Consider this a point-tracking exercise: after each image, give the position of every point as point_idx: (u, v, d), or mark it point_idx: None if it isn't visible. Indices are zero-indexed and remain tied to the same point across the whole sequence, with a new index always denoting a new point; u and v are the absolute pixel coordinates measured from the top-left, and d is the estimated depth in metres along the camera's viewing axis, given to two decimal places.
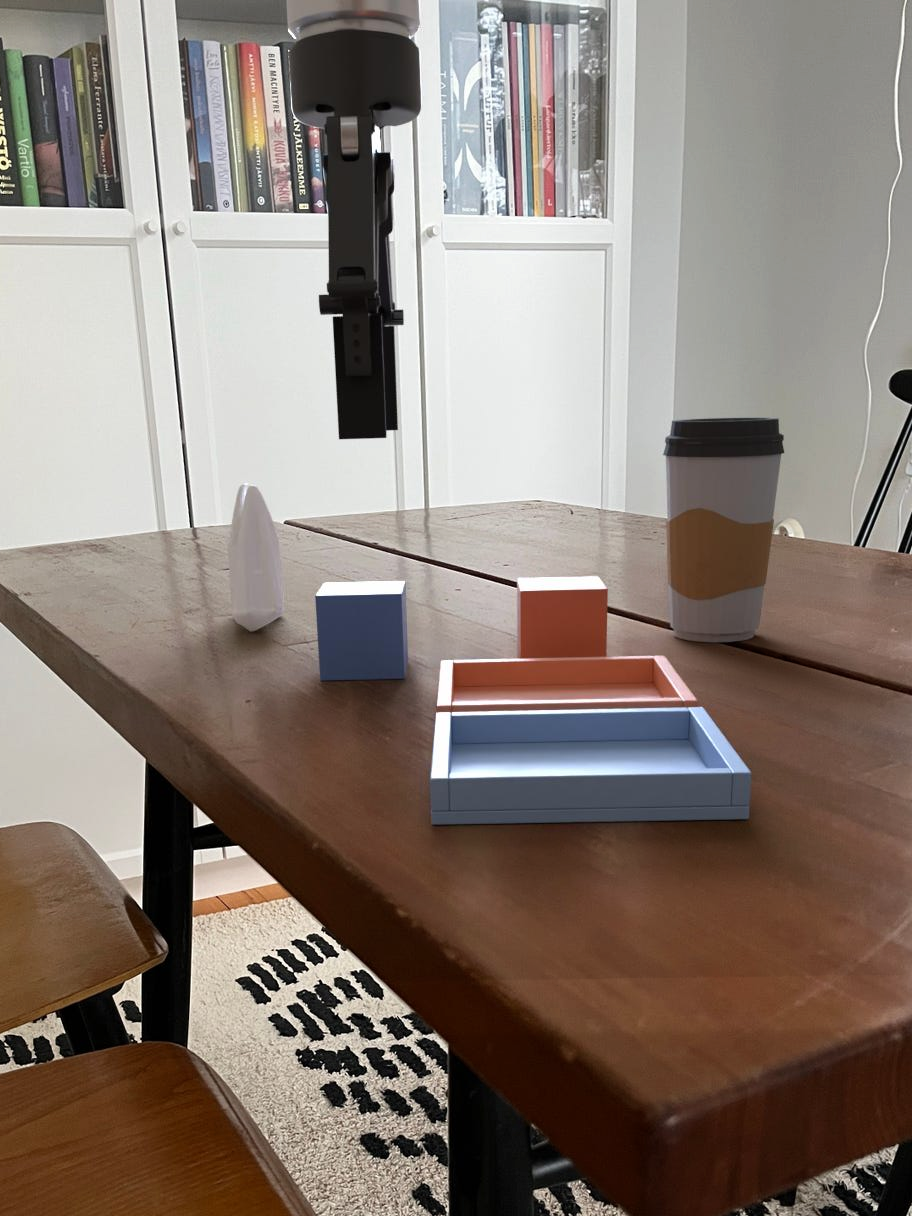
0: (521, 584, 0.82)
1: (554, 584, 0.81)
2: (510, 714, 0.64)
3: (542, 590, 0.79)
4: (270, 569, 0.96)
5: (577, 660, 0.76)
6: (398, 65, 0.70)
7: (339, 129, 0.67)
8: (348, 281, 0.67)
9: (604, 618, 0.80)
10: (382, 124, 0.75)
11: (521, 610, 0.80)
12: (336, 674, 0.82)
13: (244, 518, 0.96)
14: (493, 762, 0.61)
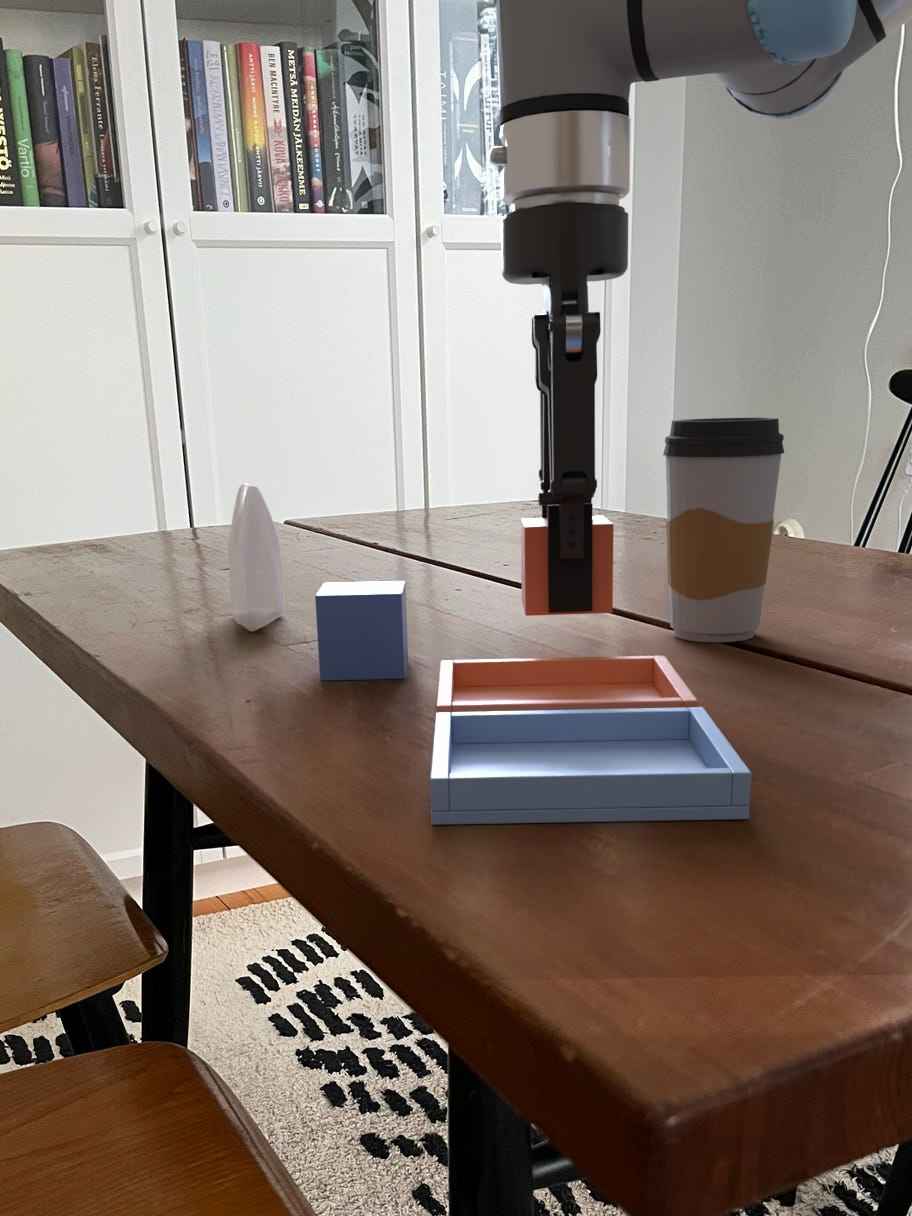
0: (525, 522, 0.80)
1: None
2: (510, 714, 0.64)
3: (546, 526, 0.78)
4: (270, 569, 0.96)
5: (577, 660, 0.76)
6: (613, 234, 0.72)
7: (564, 332, 0.71)
8: (571, 481, 0.74)
9: (610, 554, 0.78)
10: None
11: (525, 547, 0.78)
12: (336, 674, 0.82)
13: (244, 518, 0.96)
14: (493, 762, 0.61)
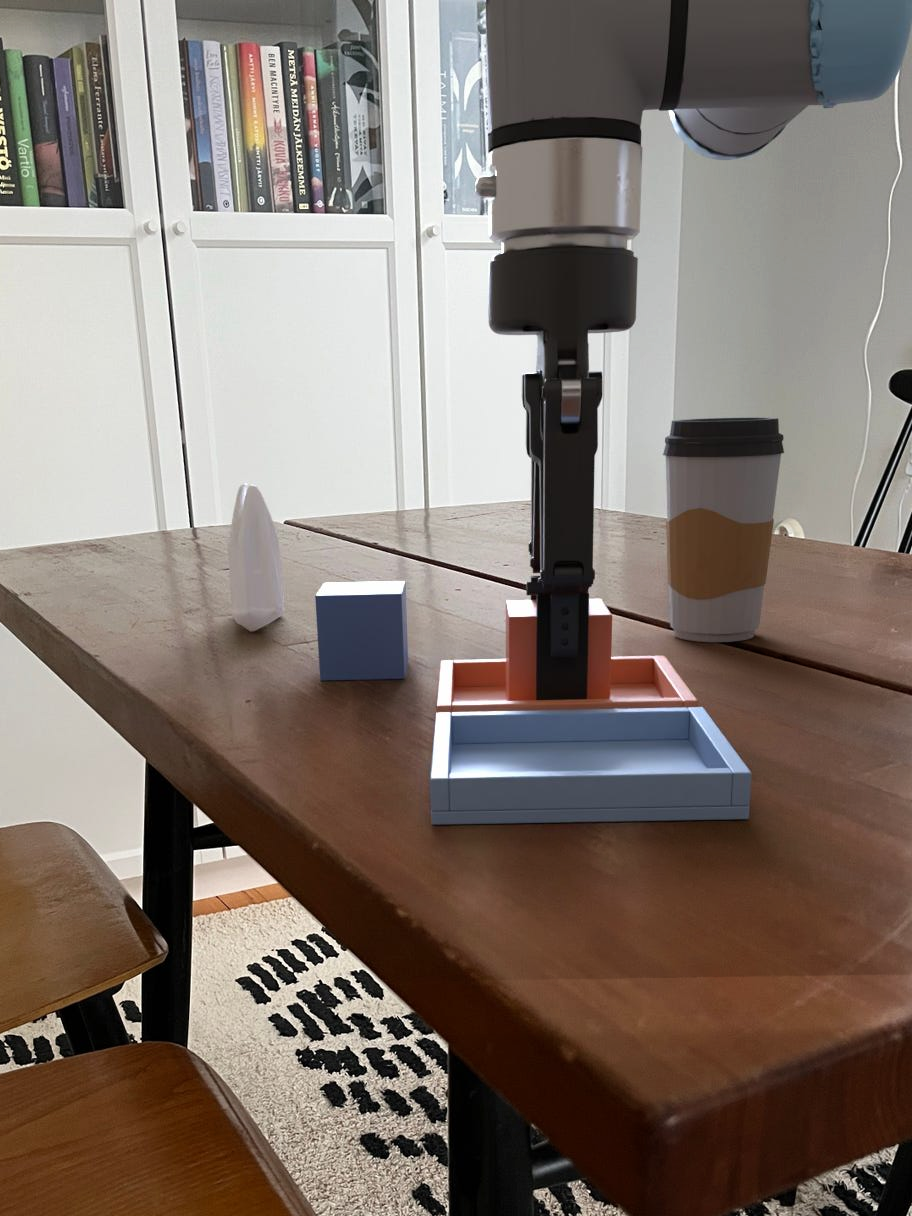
0: (510, 608, 0.70)
1: None
2: (510, 714, 0.64)
3: (535, 616, 0.67)
4: (270, 569, 0.96)
5: None
6: (619, 283, 0.61)
7: (560, 400, 0.60)
8: (565, 572, 0.63)
9: (608, 649, 0.68)
10: None
11: (510, 639, 0.68)
12: (336, 674, 0.82)
13: (244, 518, 0.96)
14: (493, 762, 0.61)
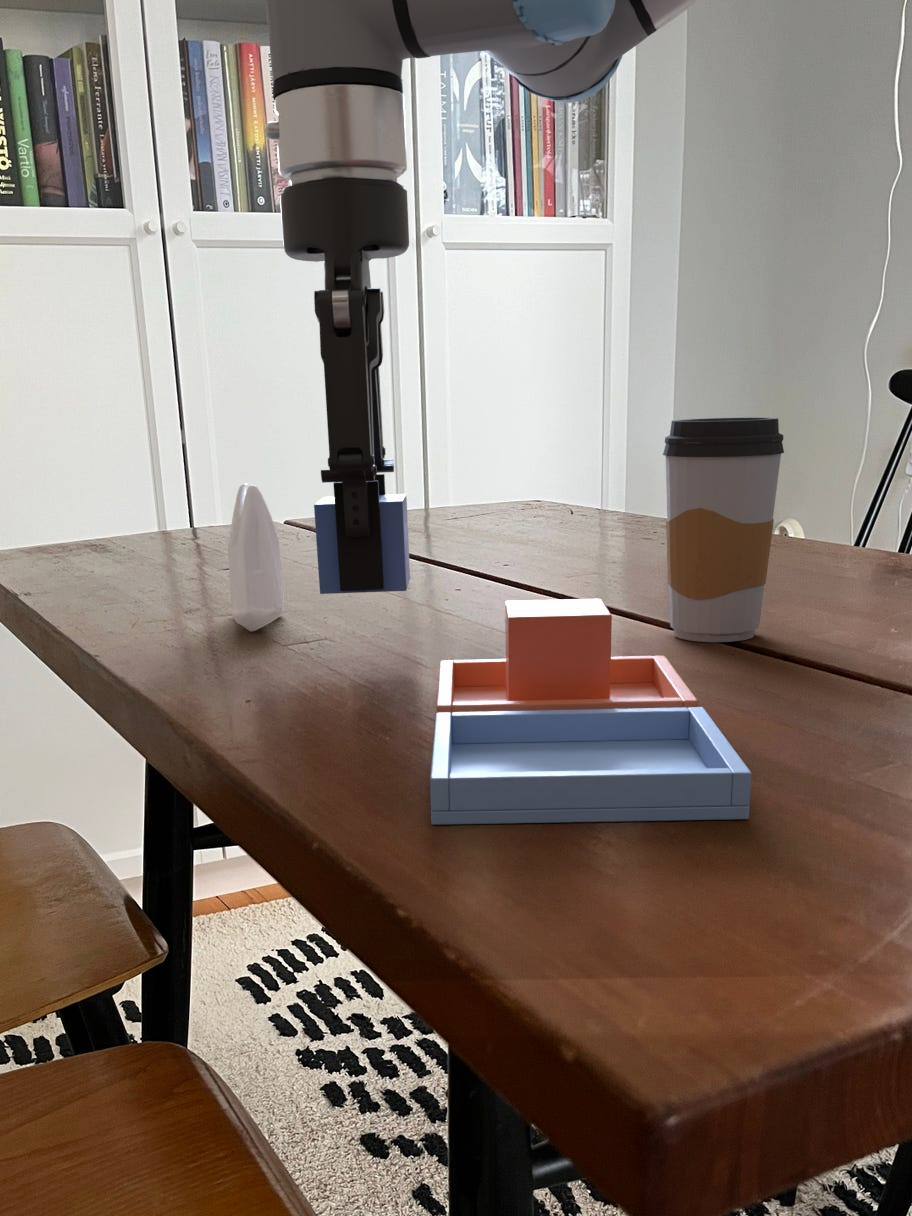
0: (510, 608, 0.70)
1: (548, 609, 0.69)
2: (510, 714, 0.64)
3: (534, 616, 0.67)
4: (270, 569, 0.96)
5: None
6: (385, 209, 0.72)
7: (331, 308, 0.70)
8: (347, 458, 0.73)
9: (607, 649, 0.68)
10: (371, 257, 0.77)
11: (509, 640, 0.68)
12: (336, 587, 0.80)
13: (244, 518, 0.96)
14: (493, 762, 0.61)
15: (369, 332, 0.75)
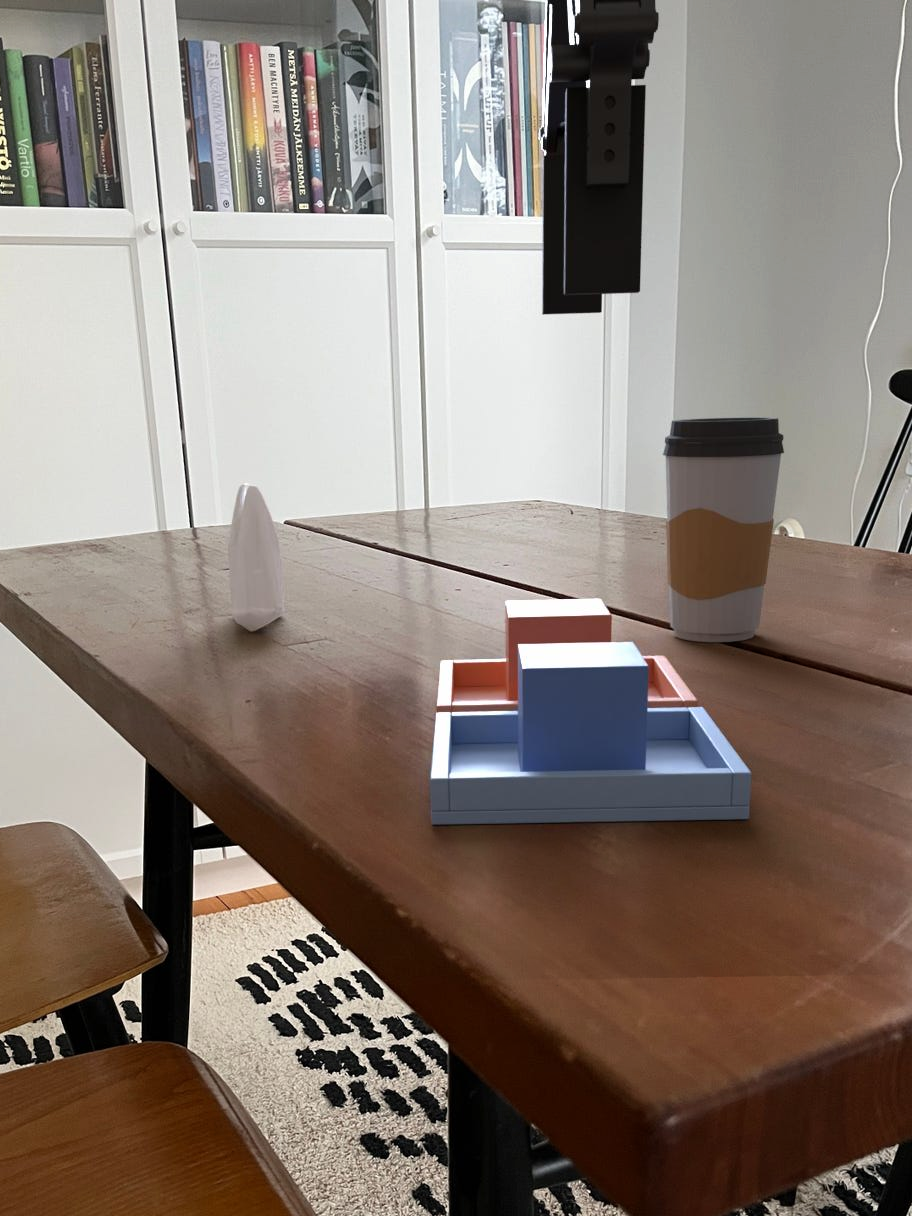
0: (510, 608, 0.70)
1: (548, 609, 0.69)
2: (510, 714, 0.64)
3: (534, 616, 0.67)
4: (270, 569, 0.96)
5: None
6: None
7: None
8: (612, 11, 0.40)
9: None
10: None
11: (509, 640, 0.68)
12: None
13: (244, 518, 0.96)
14: (493, 762, 0.61)
15: None
